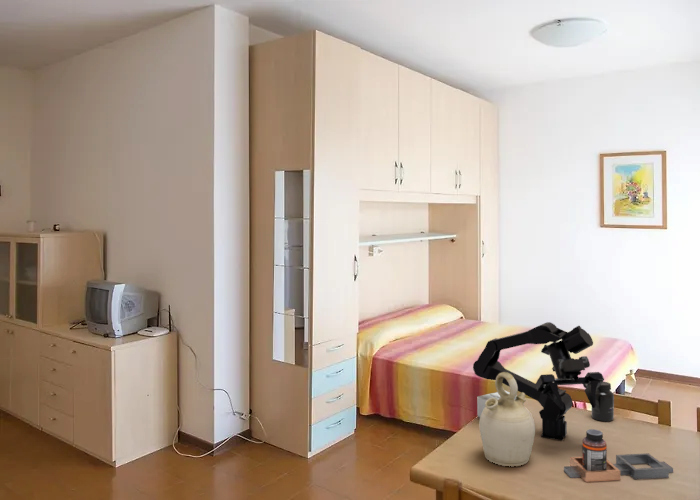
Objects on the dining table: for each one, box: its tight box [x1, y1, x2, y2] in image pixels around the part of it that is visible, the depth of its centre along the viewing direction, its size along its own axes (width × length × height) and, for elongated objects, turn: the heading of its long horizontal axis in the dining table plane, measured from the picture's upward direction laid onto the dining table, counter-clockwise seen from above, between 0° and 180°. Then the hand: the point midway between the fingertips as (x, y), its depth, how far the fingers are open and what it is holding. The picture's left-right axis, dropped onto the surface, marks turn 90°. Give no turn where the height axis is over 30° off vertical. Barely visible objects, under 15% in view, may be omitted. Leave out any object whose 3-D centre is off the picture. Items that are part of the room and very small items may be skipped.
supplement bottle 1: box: [591, 381, 615, 422], centre depth 190 cm, size 7×7×12 cm
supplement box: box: [476, 390, 518, 418], centre depth 194 cm, size 7×7×13 cm
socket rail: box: [563, 452, 674, 483], centre depth 152 cm, size 28×9×2 cm, turn 93°
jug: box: [478, 372, 536, 468], centre depth 162 cm, size 15×16×25 cm
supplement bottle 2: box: [581, 428, 608, 471], centre depth 152 cm, size 6×6×11 cm
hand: (578, 408), depth 162 cm, fingers open, 9 cm apart
